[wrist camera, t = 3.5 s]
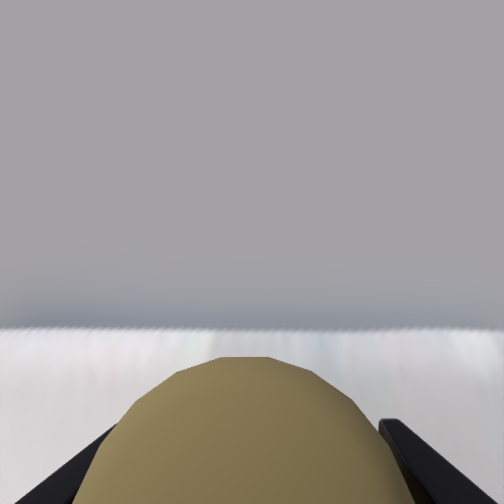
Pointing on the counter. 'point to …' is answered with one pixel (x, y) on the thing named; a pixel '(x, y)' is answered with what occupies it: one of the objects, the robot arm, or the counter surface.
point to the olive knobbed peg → (244, 443)
